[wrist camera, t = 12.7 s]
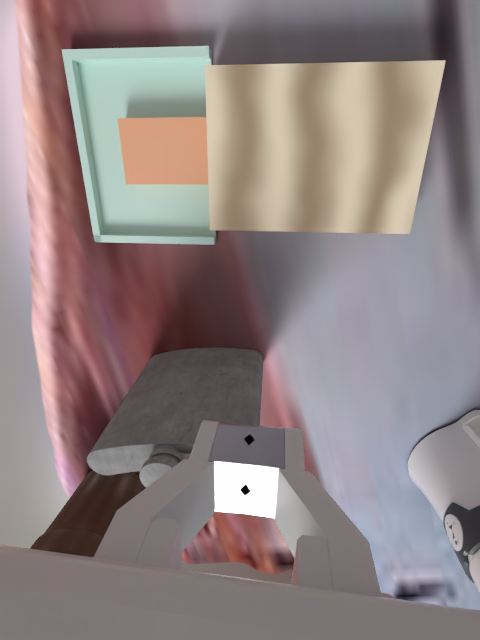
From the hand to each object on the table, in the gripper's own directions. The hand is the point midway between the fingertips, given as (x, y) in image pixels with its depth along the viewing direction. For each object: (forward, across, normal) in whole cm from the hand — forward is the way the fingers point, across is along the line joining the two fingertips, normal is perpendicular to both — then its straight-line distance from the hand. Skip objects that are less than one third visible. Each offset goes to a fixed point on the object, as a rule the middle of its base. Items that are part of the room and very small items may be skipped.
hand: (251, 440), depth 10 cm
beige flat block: (+31, +3, +9) cm, 33 cm away
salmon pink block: (+31, -11, +10) cm, 34 cm away
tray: (+31, -14, +9) cm, 35 cm away
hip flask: (+32, -9, -16) cm, 36 cm away
